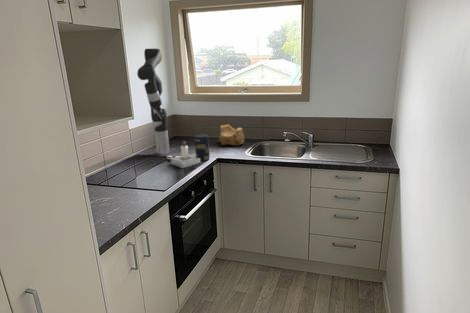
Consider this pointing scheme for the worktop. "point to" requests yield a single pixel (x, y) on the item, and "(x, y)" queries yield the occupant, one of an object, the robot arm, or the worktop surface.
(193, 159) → the grey square socket block
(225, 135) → the rough brown rock
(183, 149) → the capped white bottle
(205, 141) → the canister
